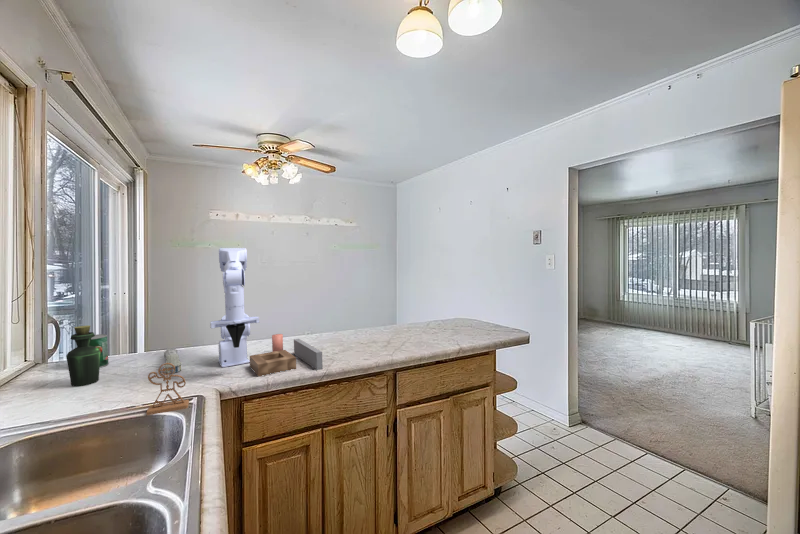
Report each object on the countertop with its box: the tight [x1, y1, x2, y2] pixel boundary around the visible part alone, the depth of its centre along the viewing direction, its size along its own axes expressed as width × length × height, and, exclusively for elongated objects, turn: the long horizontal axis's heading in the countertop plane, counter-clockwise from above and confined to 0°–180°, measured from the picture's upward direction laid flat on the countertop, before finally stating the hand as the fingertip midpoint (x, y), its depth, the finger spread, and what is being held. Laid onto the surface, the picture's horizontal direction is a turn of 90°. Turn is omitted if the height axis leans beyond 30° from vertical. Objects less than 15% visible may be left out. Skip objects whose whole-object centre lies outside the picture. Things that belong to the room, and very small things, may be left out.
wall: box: [293, 338, 323, 371], centre depth 129 cm, size 2×24×6 cm, turn 35°
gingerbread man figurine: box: [145, 362, 190, 416], centre depth 90 cm, size 9×4×12 cm, turn 116°
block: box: [249, 349, 297, 377], centre depth 122 cm, size 12×12×4 cm
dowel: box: [271, 333, 284, 352], centre depth 138 cm, size 4×4×8 cm
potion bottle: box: [66, 325, 101, 388], centre depth 110 cm, size 8×8×18 cm
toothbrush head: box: [163, 347, 183, 374], centre depth 128 cm, size 5×7×25 cm
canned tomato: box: [89, 333, 110, 369], centre depth 128 cm, size 8×8×11 cm
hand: (236, 346), depth 115 cm, fingers closed
